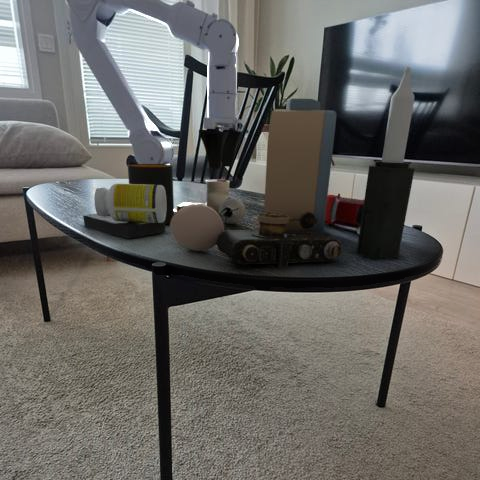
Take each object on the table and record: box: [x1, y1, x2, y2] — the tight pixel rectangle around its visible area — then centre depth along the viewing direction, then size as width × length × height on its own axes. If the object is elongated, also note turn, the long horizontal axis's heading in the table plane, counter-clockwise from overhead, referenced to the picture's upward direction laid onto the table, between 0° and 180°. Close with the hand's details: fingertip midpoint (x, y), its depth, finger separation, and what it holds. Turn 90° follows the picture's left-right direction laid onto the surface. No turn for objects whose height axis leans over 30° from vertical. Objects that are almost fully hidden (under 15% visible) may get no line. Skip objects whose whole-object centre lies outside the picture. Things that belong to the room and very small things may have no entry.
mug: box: [127, 163, 175, 225], centre depth 83 cm, size 8×12×10 cm
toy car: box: [324, 193, 364, 229], centre depth 81 cm, size 6×14×5 cm
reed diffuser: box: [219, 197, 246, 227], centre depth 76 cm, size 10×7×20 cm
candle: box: [356, 66, 416, 261], centre depth 60 cm, size 5×5×25 cm
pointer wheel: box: [205, 178, 230, 207], centre depth 87 cm, size 5×5×5 cm
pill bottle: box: [93, 183, 167, 223], centre depth 71 cm, size 6×6×11 cm
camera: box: [216, 212, 343, 269], centre depth 59 cm, size 16×7×8 cm
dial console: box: [176, 201, 224, 222], centre depth 89 cm, size 12×9×3 cm
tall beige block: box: [263, 98, 337, 234], centre depth 72 cm, size 21×10×22 cm, turn 168°
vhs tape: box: [82, 213, 166, 240], centre depth 76 cm, size 14×8×2 cm, turn 47°
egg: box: [169, 204, 225, 252], centre depth 63 cm, size 7×7×10 cm
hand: (221, 167), depth 88 cm, fingers open, 7 cm apart
